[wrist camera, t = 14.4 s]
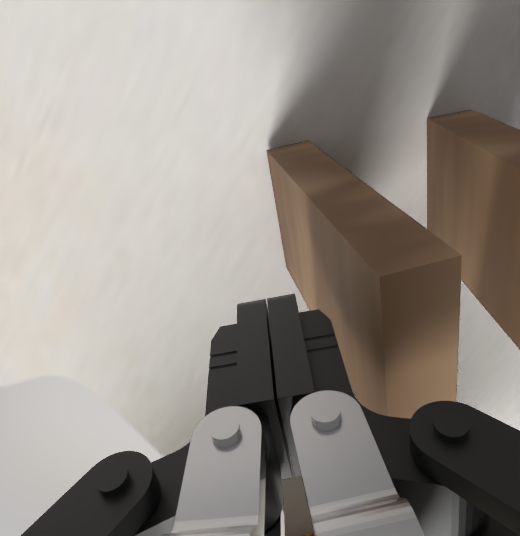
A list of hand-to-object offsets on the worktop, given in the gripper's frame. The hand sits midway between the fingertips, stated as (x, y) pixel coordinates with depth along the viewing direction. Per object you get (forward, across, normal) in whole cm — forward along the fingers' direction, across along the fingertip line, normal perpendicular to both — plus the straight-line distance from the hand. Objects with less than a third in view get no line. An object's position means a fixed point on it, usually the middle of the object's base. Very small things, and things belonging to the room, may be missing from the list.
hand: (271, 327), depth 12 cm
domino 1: (+7, -2, 0) cm, 7 cm away
